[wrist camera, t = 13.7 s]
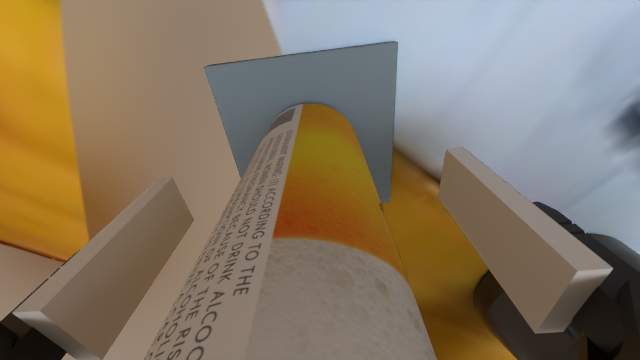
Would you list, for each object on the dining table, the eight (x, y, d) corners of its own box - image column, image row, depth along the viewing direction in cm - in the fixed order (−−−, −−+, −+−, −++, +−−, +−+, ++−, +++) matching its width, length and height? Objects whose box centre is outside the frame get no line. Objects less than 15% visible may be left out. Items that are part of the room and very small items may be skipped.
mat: (387, 194, 20) (390, 202, 19) (255, 207, 20) (253, 214, 20) (393, 41, 14) (398, 42, 13) (210, 64, 15) (203, 66, 14)
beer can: (309, 197, 19) (286, 558, 6) (248, 141, 16) (-18, 545, 3) (374, 149, 17) (560, 547, 4) (315, 78, 14) (273, 493, 1)
